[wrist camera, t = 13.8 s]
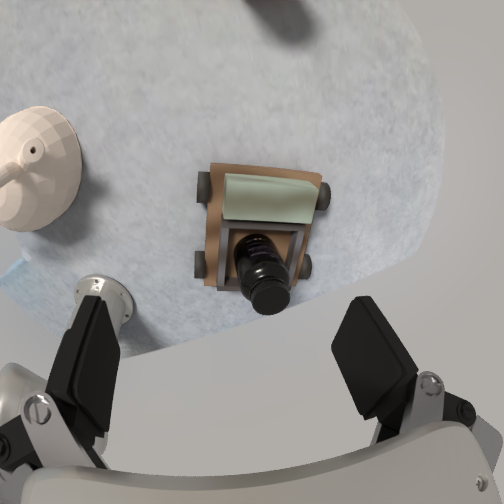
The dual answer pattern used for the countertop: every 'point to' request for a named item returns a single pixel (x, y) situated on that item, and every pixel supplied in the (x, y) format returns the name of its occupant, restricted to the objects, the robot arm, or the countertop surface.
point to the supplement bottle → (262, 274)
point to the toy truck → (257, 217)
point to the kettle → (37, 168)
